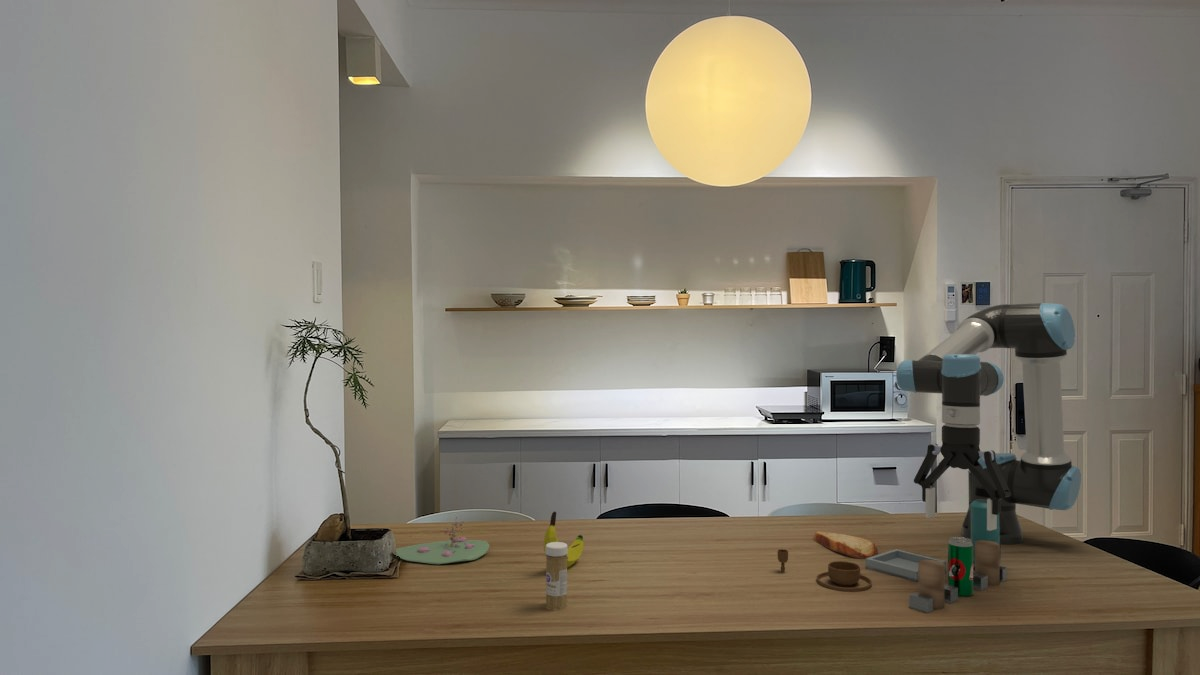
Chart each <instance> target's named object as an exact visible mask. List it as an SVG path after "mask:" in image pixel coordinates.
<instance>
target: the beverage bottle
mask: <svg viewBox="0 0 1200 675" xmlns="http://www.w3.org/2000/svg"><path fill="white" fill-rule="evenodd" d="M975 495H976V496H981V497H990V495H989V494H988V493H987V491H986V490H985V489H984V487H983V486H976V489H975ZM970 506H971V535H970V536H971V540H972V544H973V566H975V541H979V540H985V541H992V542H996V543H998V544H1000V545H1001V543H1000V541H1001V540H1000V526H999V515H997V529H995V530H991V531H989V530H987V500H986V499H977V500H975V501H973V502H972V503H971V504H970ZM1001 546H1002V545H1001ZM1001 546H1000V561H1001V559H1002V558H1001V556H1002V554H1001V552H1002V551H1001V550H1002V549H1001V548H1002V547H1001Z"/></svg>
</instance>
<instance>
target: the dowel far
mask: <svg viewBox="0 0 1200 675" xmlns="http://www.w3.org/2000/svg"><path fill="white" fill-rule="evenodd" d="M1000 559H1001V558H1000V544H998V543H996V542H992V541H985V540H979V541H975V565H974V572H976V573H980V574H984V575H988V586H995V587H996V586H999V585H1000V582H1001V581H1000V566H1001V565H1000V564H1001V560H1000Z"/></svg>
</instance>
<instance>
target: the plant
mask: <svg viewBox="0 0 1200 675" xmlns="http://www.w3.org/2000/svg"><path fill="white" fill-rule="evenodd" d="M457 518H458V517H455V522H454V523H452V526H451V529H450V528H449V527H447V528H446V531H444V534H447V533H448V532H449V530H450V533H448V536H449V540H439V541H433V542H425V543H424V542H423V543H417V544H413V545H407V546H402V547H396V548H395V549H396V552H397V556H399V557H400V559H401V560H404V561H407V562H413V563H414V562H415V563H422V564H430V565H442V564H452V563H460V562H467V561H469V562H470V561H474V560H477V559H479V558H481V557H483V556H484V555H485V554H486V553H487V552H488V550H490V544H489V542H488V541H487V540H481V539H480V540H479V539H478V540H477V539H467V537H465V536H462V537H458V535H459V534H460V533H462V534H463V531H461V530H463V527H461V526H463V523H464V521H462V522H460V523H458V522H456V520H457ZM458 526H460V528H458ZM457 529H458V530H457ZM456 533H457V534H456ZM397 556H396V557H397ZM399 557H398V558H399Z"/></svg>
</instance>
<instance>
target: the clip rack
mask: <svg viewBox="0 0 1200 675" xmlns="http://www.w3.org/2000/svg"><path fill="white" fill-rule="evenodd" d="M1007 577H1008V568H1007V567H1006V566H1002V565H1000V582H1001V583H1004V582H1006V581H1007ZM988 586H989V585H988V575H984V574H980V573H976V572H975V571H973V590H977V591H980V592H982V591H984V590H987V589H988ZM908 599H909V600H908V608H909V609H913V610H916V611H919V612H921V613H922V612H923V613H926V614H928V613H929V614H930V613H931V612H933V611H934V609H933V598H932V597H928V596H925V595H921V594H918V592H912V593H909V594H908ZM958 600H959V596H958V587H954V586H950V585H948V584H946V583H945V591H944V603H948V604H953V603H955V602H958Z"/></svg>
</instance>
